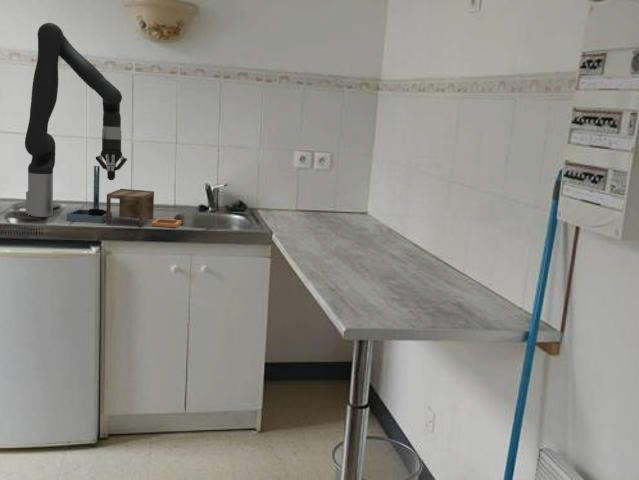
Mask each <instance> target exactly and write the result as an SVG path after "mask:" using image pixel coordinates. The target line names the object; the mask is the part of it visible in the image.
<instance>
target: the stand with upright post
mask: <svg viewBox="0 0 639 480" xmlns="http://www.w3.org/2000/svg"><path fill="white" fill-rule="evenodd" d="M100 167H101V165H93V204H92V205H93V208H92V209H100V177H101V176H100V172H101V171H100V169H101V168H100ZM88 211H89V209H79V208H78V209H74V210H73V211H69V212H68V213H66V214H65V215H66V216H65V217H66V221H78V222H88V223H89V222H90V223H91V222H93V223H104V222H106V214H104V215H102V216H93V215H88ZM112 218H113V211H110V219H112Z"/></svg>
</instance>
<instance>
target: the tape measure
mask: <svg viewBox="0 0 639 480" xmlns="http://www.w3.org/2000/svg"><path fill="white" fill-rule="evenodd" d="M88 210H89V211H88V215H93V216H102V215H104V214H106V211H107V210H104V209H100V208H99V209H93V208H89V209H88Z"/></svg>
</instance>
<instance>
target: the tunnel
mask: <svg viewBox="0 0 639 480" xmlns="http://www.w3.org/2000/svg"><path fill="white" fill-rule="evenodd" d="M111 199H113V200H119V204H118V205H119V207H118V209H119V215H118V217H119V218H126V217H130V218H131V219H138V227H139V226H140V228H143V227H142V226H144V225H143V223H144V220H153V221H154V211H155V210H154V209H155V208H154V207H155V206H154V205H155V204H154V203H155V191H154V190H142V189H130V188H129V189H127V188H119V189H117V190H114V191H111V192H109V193H107V194H106V210H105V211H106V221H105V224H106V225H109V226H110V225H111V218H110V212H111V209H112V207H111V205H112V203H111V201H112V200H111ZM130 218H129V219H130Z"/></svg>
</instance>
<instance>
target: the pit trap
mask: <svg viewBox="0 0 639 480" xmlns="http://www.w3.org/2000/svg"><path fill="white" fill-rule="evenodd" d="M182 223H183V221H182V220H181V219H171V218H156V219H155V220H153V221H152V222H151V227H155V228H157V227H158V228H167V229H177V228H178V227H180V225H182Z"/></svg>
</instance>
